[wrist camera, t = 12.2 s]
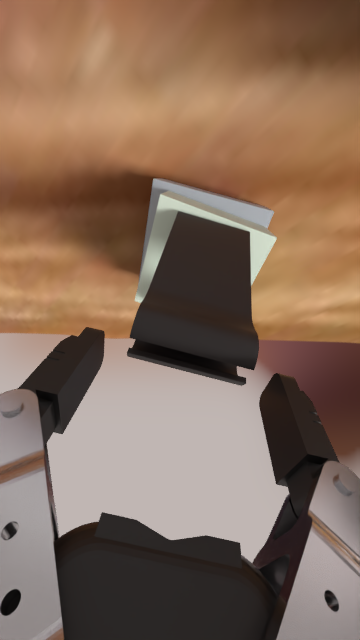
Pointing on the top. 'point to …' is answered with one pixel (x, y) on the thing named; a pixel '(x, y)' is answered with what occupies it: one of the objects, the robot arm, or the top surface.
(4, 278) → the top surface
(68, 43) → the top surface
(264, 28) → the top surface
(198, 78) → the top surface
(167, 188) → the tower base slab
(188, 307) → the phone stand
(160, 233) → the tower top block
